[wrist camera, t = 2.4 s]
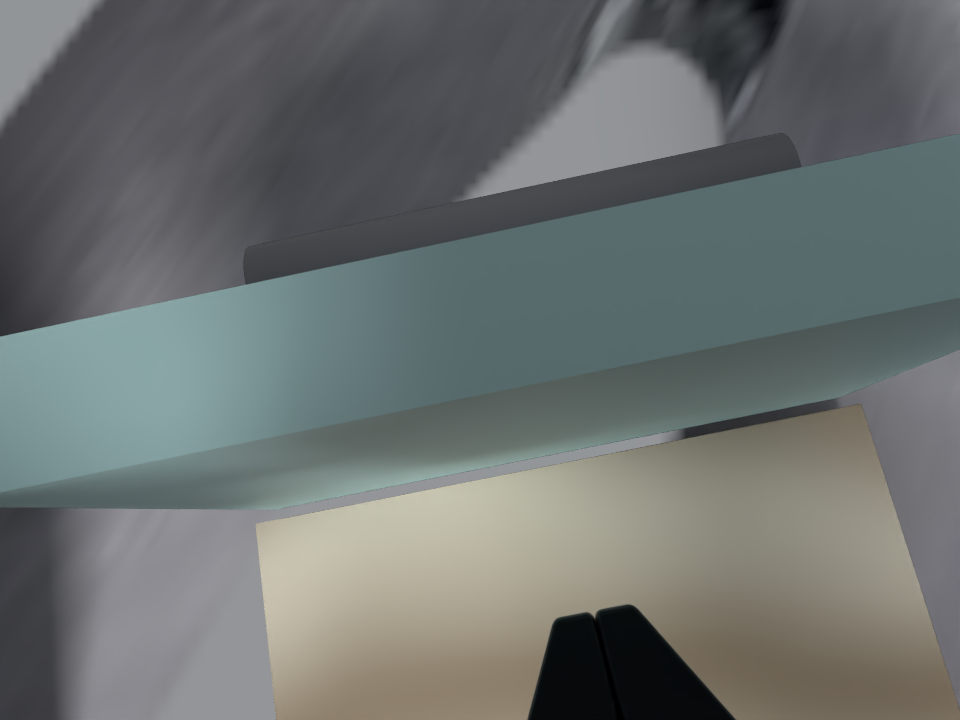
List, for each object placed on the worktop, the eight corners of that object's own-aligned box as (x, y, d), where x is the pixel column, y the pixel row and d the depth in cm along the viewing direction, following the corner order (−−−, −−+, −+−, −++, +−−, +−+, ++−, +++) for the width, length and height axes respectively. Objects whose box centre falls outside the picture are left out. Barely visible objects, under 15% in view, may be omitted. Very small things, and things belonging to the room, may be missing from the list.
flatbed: (992, 919, 16) (1038, 953, 14) (337, 1031, 17) (313, 1075, 15) (836, 419, 19) (861, 403, 17) (279, 528, 19) (255, 523, 18)
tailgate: (837, 397, 17) (1226, 242, 7) (273, 510, 18) (-70, 506, 8) (806, 287, 18) (1132, 3, 8) (258, 399, 18) (-86, 266, 8)
